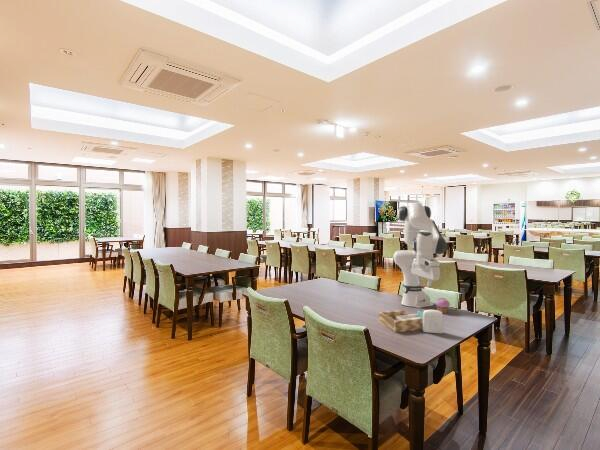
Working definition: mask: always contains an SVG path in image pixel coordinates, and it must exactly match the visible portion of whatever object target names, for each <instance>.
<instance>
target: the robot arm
mask: <svg viewBox="0 0 600 450" xmlns="http://www.w3.org/2000/svg"><path fill="white" fill-rule="evenodd" d="M396 215H397V218H398V220H399V221H401V222H404V227H403V228H404V229H403V241H404V243H405V244H406V245H408V246H409V247H412V250H411V249H409V250H407V249H405V250H404V249H401V250H395V252H394V253H393V256H392V257H393V258H392V260H393V262H394V263H395V264H396V265H397V266H398V267H399V268H400V270H401V272H402V275H403V283H402V292H403V293H402V299H401V305H403V306H406V307H413V308H418V309H420V308H425V307H426V308H427V307H432V306H435V303H434V302H431V298H430V295H429V294H428V293H426V292H425V291H423V290H424V289H425V288H426V287H428V288H430V287H432V283H433V281H439V279H440V277H441V272H440V271H441V269H440V265H441V263H440V261H438V260H437V259H436V258H434V254H437V255H441V254H443V253H444V252H446V250H447V241H446V239H445V238H444V236H443V235H442V233H441V231H440V230H439V228H438V226H437V223H436V222H435V220H433V219H431V216H432V211H431V208H430V207H429V206H427V205H423V204H422V203H421V202H418V201H417V202H416V201H415V202H413V203H411V204H410V205H407V206H405V205H403V206H400V207H398V210H397V214H396ZM421 230H422V231H421ZM422 278H424V279H427V282H426V283H425V284H426V286H425V285H422V284H423V280H422Z"/></svg>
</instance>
